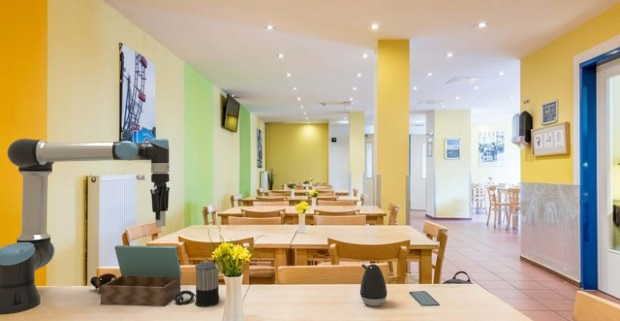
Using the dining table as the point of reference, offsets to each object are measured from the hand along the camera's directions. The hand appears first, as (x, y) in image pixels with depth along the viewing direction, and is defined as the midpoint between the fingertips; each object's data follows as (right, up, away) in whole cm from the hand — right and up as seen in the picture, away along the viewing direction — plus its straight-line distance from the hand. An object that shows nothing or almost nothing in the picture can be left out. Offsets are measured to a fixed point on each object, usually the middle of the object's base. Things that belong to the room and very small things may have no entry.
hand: (160, 226), depth 175 cm
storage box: (-1, -27, -16) cm, 31 cm away
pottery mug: (-22, -27, -5) cm, 35 cm away
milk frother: (+22, -27, -21) cm, 40 cm away
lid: (-1, -13, -11) cm, 17 cm away
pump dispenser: (+90, -26, -24) cm, 97 cm away
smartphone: (+111, -26, -19) cm, 115 cm away
